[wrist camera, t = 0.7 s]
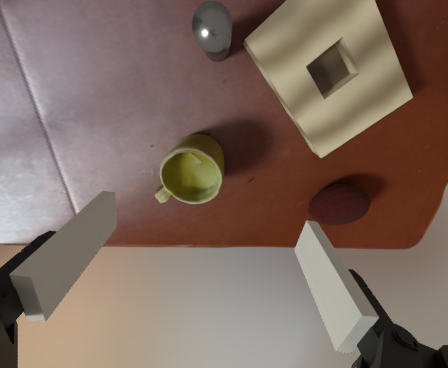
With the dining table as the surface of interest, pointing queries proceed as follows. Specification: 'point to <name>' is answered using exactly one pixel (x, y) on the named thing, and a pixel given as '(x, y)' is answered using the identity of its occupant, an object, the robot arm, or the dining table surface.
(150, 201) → the dining table surface
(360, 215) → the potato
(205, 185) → the mug
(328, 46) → the block
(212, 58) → the pin
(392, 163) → the dining table surface
